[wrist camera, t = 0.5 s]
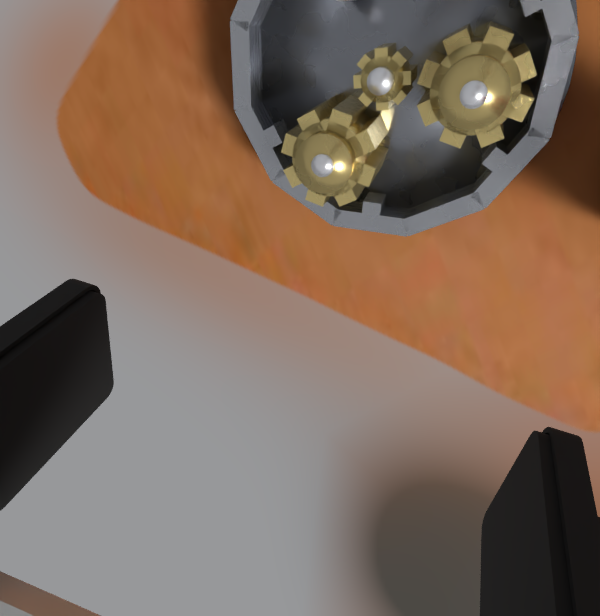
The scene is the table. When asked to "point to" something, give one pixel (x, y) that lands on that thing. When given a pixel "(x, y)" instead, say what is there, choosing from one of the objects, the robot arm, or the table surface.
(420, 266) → the table surface
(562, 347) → the table surface
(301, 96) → the carrier
